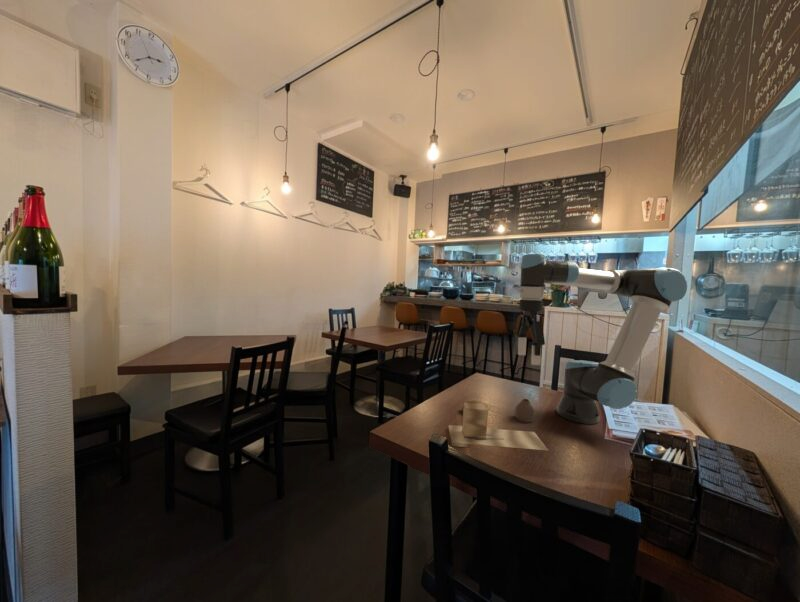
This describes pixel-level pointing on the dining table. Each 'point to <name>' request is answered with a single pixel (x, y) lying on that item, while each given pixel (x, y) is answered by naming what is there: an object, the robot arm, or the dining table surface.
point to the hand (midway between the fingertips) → (528, 359)
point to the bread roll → (472, 402)
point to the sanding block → (475, 421)
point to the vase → (524, 411)
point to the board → (498, 439)
